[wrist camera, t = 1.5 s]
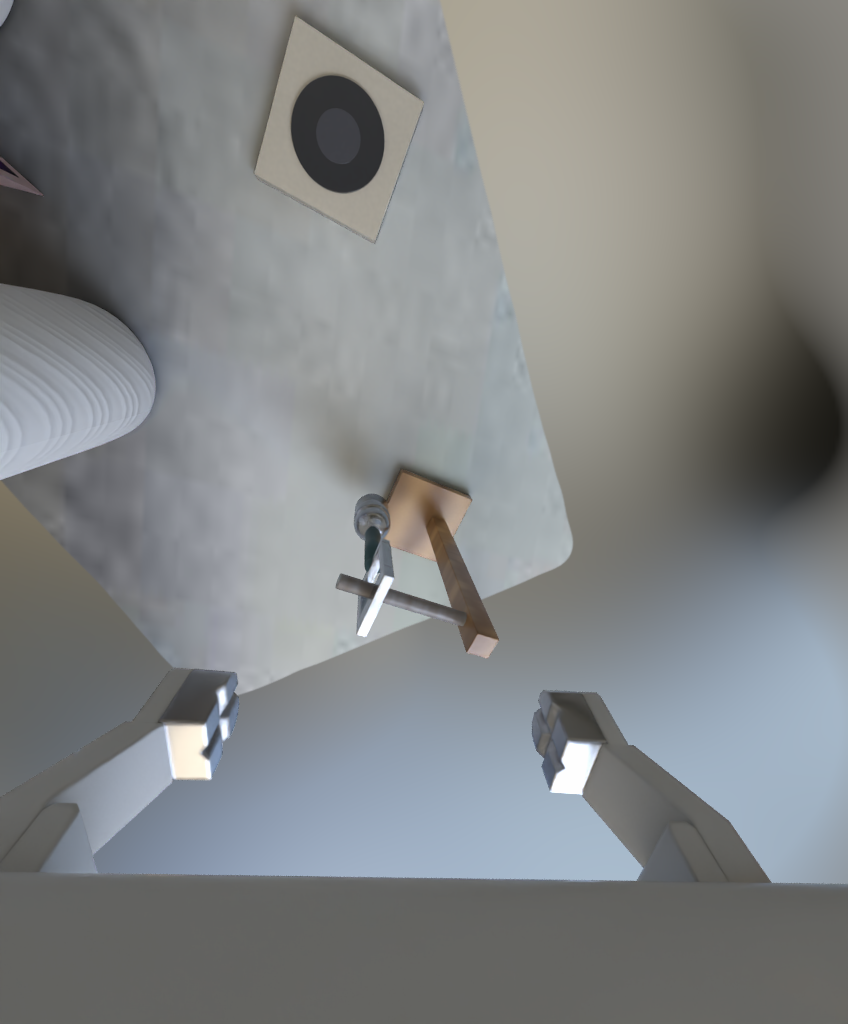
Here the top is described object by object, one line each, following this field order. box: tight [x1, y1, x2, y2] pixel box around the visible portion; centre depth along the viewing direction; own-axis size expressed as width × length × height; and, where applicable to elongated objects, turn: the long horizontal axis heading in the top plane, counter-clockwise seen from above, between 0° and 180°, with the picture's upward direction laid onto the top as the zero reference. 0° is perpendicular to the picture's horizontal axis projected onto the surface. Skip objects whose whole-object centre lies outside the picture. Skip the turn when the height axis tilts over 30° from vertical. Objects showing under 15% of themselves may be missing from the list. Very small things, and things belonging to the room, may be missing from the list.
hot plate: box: [254, 16, 424, 244], centre depth 38 cm, size 12×12×2 cm
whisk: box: [354, 494, 394, 637], centre depth 40 cm, size 4×6×21 cm
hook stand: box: [336, 469, 499, 658], centre depth 42 cm, size 15×10×25 cm, turn 65°
